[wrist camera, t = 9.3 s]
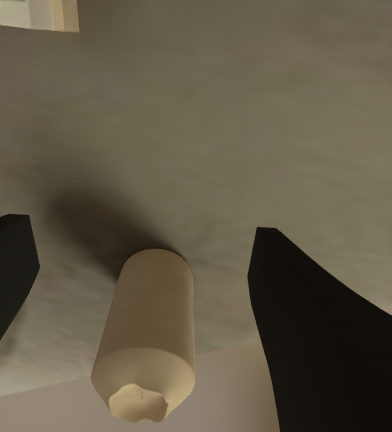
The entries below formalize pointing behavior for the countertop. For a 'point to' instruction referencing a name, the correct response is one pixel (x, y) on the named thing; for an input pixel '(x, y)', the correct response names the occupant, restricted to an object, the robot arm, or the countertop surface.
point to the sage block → (14, 0)
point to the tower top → (27, 14)
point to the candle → (148, 339)
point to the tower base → (65, 15)
